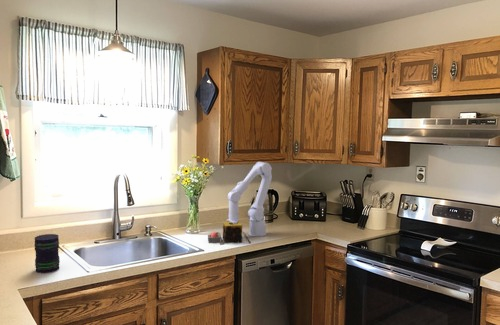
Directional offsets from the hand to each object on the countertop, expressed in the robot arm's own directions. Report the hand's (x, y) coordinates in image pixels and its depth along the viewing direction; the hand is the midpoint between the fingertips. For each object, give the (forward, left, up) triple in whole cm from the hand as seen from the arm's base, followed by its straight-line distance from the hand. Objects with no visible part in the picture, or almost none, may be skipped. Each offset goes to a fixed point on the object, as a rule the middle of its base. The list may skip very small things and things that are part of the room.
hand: (233, 234), depth 245 cm
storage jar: (+90, +43, -2) cm, 100 cm away
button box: (+12, +7, -1) cm, 14 cm away
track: (0, +2, -1) cm, 2 cm away
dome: (+12, +7, -1) cm, 14 cm away
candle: (+2, +7, -2) cm, 8 cm away
